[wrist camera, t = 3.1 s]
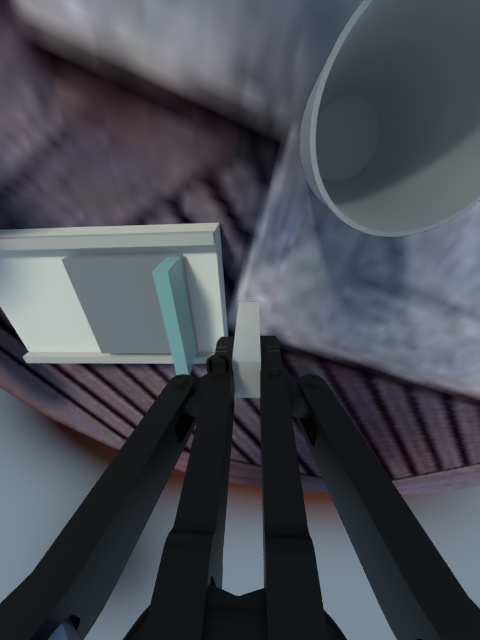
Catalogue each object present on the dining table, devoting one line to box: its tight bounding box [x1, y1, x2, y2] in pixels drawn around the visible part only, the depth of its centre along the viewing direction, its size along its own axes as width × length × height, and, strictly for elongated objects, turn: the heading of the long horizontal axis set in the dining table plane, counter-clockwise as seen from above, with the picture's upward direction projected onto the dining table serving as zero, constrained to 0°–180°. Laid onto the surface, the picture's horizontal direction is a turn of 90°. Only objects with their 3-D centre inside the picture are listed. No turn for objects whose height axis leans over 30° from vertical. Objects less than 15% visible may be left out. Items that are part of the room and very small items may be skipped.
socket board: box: [0, 223, 228, 364], centre depth 22 cm, size 12×20×4 cm, turn 92°
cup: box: [300, 0, 480, 237], centre depth 13 cm, size 8×8×10 cm
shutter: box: [61, 253, 198, 375], centre depth 19 cm, size 9×9×4 cm
